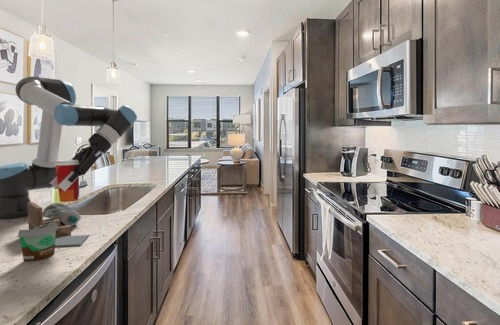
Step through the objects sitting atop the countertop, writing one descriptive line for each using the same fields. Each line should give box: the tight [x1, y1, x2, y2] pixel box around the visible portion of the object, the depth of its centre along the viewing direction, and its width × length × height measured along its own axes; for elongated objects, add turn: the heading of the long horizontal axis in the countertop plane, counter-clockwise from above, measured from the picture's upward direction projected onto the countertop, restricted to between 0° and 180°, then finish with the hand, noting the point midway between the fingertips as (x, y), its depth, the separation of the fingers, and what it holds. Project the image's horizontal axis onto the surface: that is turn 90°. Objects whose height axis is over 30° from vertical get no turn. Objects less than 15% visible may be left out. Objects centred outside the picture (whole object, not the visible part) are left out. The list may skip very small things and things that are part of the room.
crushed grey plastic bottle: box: [42, 202, 82, 228], centre depth 137 cm, size 13×7×25 cm
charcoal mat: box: [55, 234, 90, 248], centre depth 114 cm, size 10×10×1 cm
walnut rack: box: [27, 201, 72, 239], centre depth 121 cm, size 10×13×12 cm
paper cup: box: [55, 159, 80, 203], centre depth 111 cm, size 8×8×14 cm
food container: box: [17, 219, 58, 262], centre depth 100 cm, size 12×6×10 cm, turn 170°
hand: (57, 187), depth 109 cm, fingers closed on paper cup, 8 cm apart
